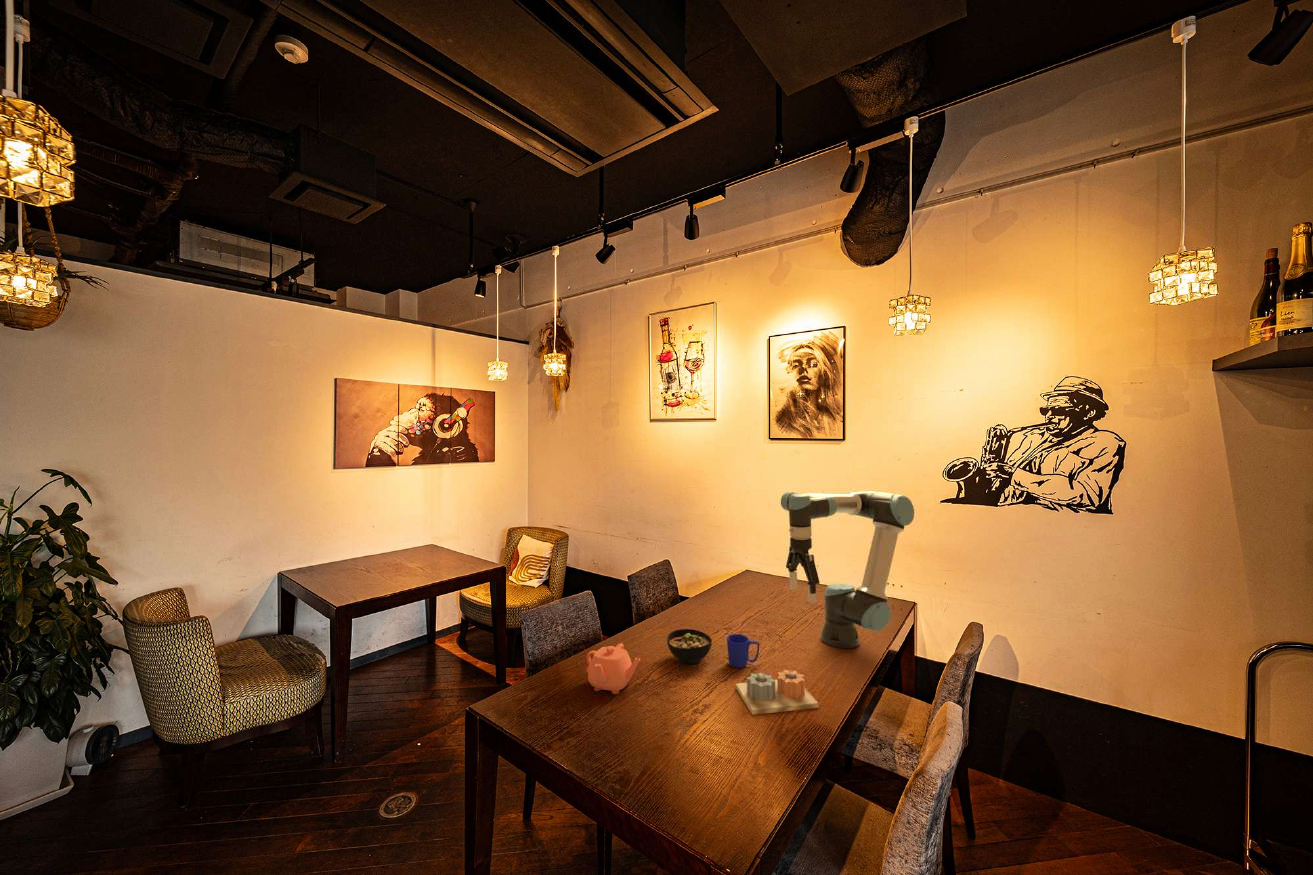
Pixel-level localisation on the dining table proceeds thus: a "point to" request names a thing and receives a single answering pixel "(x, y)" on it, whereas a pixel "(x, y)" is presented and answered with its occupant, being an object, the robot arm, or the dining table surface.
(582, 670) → the dining table surface
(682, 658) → the bowl
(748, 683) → the gear
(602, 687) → the teapot
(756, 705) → the board
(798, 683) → the gear
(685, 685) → the dining table surface
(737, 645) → the mug
